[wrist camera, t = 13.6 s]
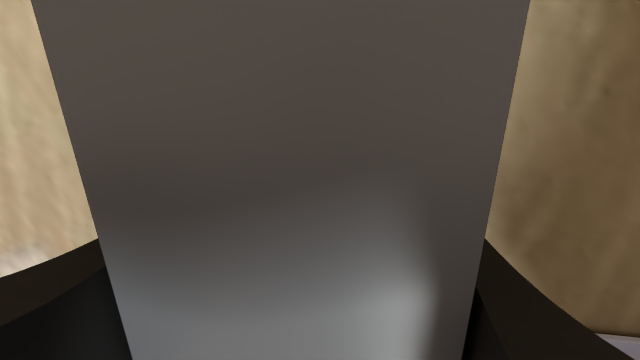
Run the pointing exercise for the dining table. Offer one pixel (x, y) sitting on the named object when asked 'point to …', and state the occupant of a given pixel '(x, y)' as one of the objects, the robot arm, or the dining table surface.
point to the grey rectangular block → (288, 167)
